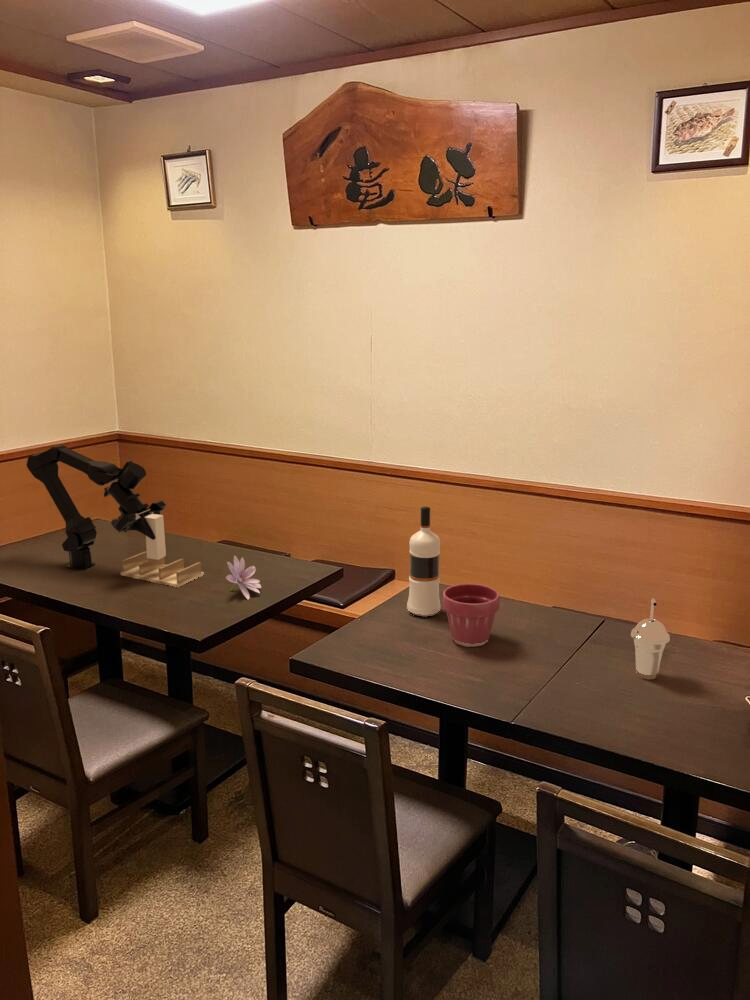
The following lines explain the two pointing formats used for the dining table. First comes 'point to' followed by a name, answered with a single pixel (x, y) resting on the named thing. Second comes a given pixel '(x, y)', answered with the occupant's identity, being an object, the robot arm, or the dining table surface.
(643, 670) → the cup with straw
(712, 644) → the dining table surface
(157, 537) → the clay bar
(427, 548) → the vodka
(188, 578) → the drying rack
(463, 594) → the plant pot
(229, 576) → the water lily
